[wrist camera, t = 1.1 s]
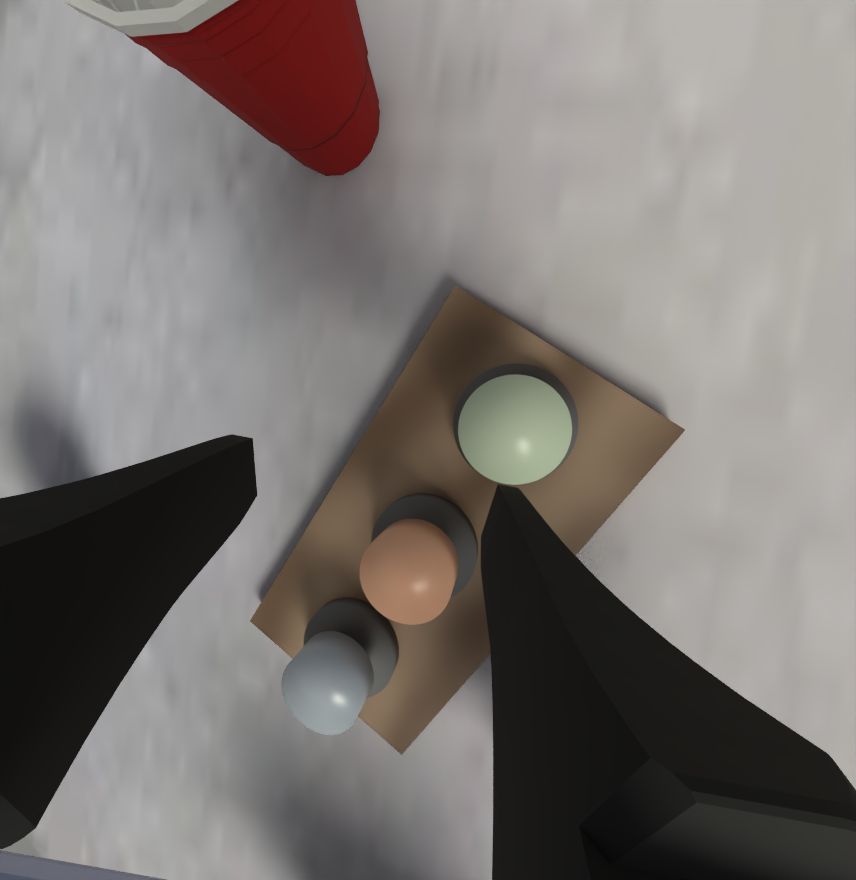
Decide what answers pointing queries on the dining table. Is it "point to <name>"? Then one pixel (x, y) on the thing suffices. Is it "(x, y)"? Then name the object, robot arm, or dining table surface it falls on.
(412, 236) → the dining table surface
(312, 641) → the slate button
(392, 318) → the dining table surface
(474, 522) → the button board
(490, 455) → the sage button
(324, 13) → the plastic cup
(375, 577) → the terracotta button
